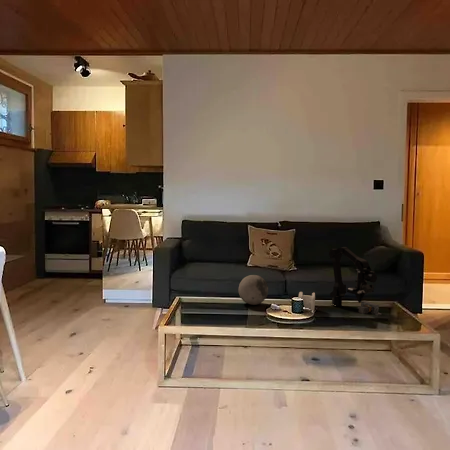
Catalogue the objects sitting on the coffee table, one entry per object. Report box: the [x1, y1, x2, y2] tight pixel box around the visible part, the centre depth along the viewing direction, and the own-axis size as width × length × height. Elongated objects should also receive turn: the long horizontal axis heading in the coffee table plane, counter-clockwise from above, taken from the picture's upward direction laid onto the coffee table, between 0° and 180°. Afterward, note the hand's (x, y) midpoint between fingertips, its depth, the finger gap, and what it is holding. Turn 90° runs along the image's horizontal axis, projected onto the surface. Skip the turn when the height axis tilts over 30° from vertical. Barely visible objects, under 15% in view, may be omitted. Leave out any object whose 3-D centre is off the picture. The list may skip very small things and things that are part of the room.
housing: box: [357, 300, 382, 317], centre depth 354 cm, size 18×4×6 cm, turn 30°
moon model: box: [238, 274, 269, 306], centre depth 357 cm, size 20×20×20 cm
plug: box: [358, 305, 371, 315], centre depth 354 cm, size 14×4×4 cm, turn 123°
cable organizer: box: [297, 291, 316, 312], centre depth 347 cm, size 15×11×12 cm
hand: (359, 302), depth 348 cm, fingers closed
